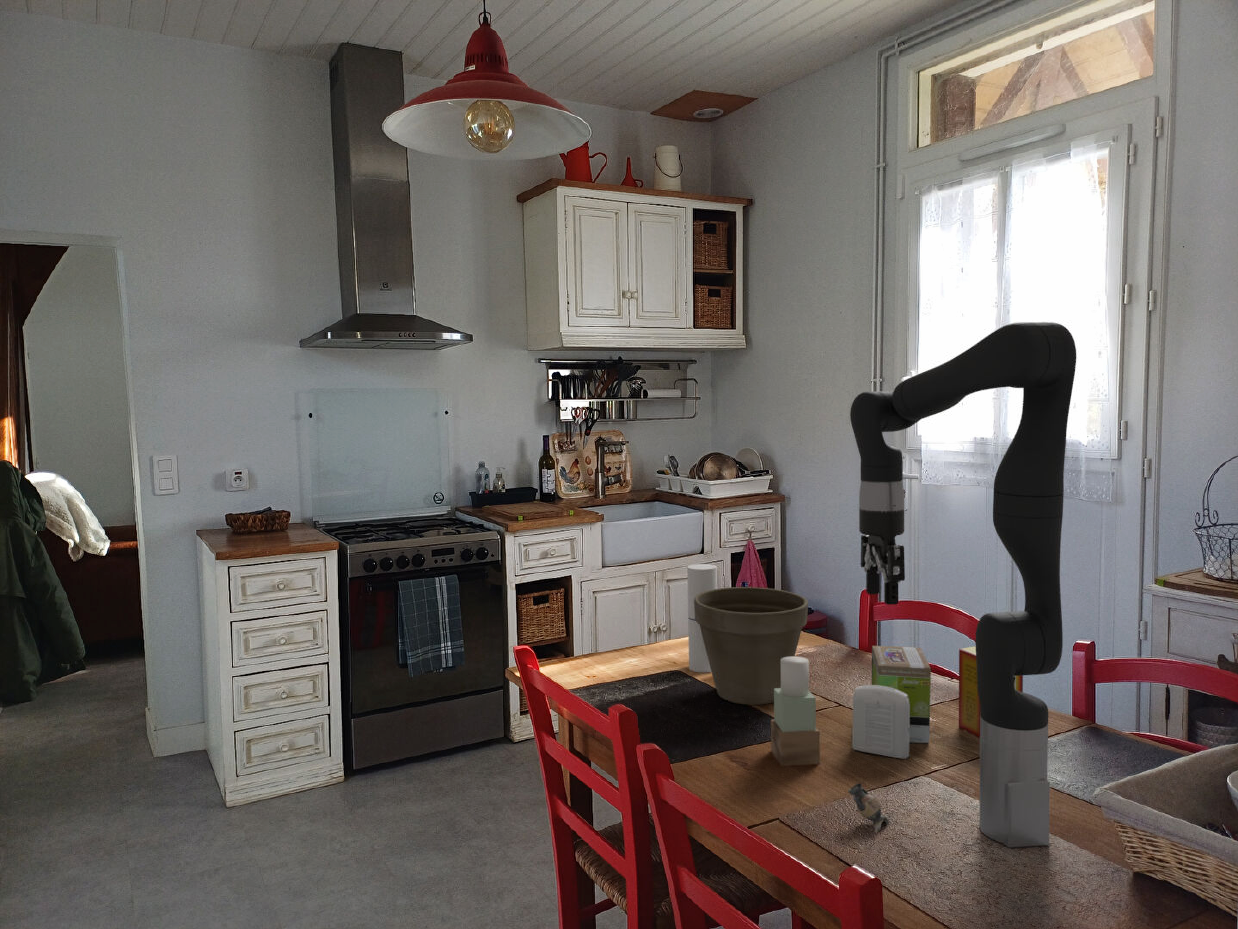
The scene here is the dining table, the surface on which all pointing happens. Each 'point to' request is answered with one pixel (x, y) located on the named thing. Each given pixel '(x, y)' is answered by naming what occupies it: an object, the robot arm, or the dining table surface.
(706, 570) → the cylindrical container
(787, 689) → the white cylinder peg
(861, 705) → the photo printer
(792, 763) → the tower base
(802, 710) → the tower top
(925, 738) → the tea box
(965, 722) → the baking soda box
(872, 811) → the animal figurine
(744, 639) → the plant pot
